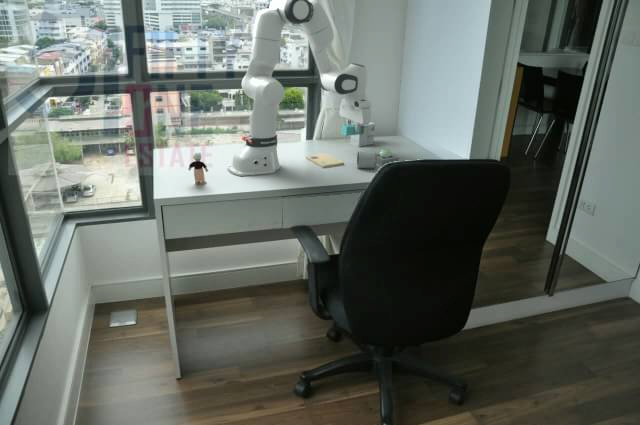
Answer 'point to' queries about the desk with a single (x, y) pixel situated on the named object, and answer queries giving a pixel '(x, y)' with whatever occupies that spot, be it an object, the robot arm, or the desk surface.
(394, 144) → the desk surface
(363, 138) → the light bulb box
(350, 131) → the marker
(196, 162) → the grandmother figurine
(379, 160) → the button housing
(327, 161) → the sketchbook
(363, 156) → the ceramic mug
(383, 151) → the button
